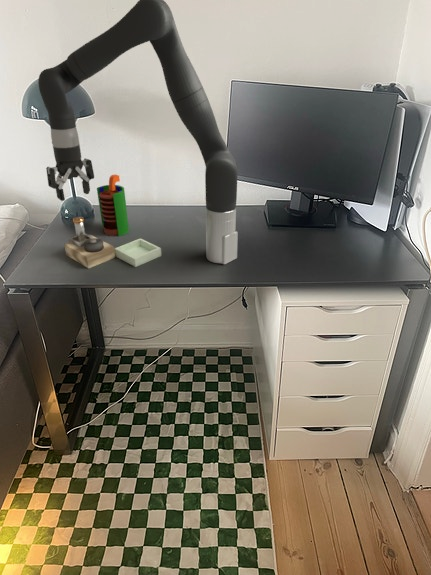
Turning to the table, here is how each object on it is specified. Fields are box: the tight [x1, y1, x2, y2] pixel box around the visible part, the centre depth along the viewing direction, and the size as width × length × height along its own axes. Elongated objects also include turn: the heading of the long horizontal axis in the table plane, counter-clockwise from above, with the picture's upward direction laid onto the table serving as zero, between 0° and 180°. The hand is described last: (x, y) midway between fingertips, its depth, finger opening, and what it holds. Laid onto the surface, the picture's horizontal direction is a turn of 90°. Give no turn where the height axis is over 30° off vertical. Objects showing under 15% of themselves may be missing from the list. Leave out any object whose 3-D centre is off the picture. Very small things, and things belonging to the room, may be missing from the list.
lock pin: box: [72, 216, 86, 242], centre depth 146 cm, size 3×3×8 cm
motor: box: [96, 174, 130, 237], centre depth 160 cm, size 10×9×20 cm
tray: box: [114, 238, 162, 268], centre depth 147 cm, size 11×11×3 cm
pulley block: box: [64, 232, 116, 269], centre depth 146 cm, size 14×10×7 cm
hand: (74, 196), depth 140 cm, fingers open, 8 cm apart
